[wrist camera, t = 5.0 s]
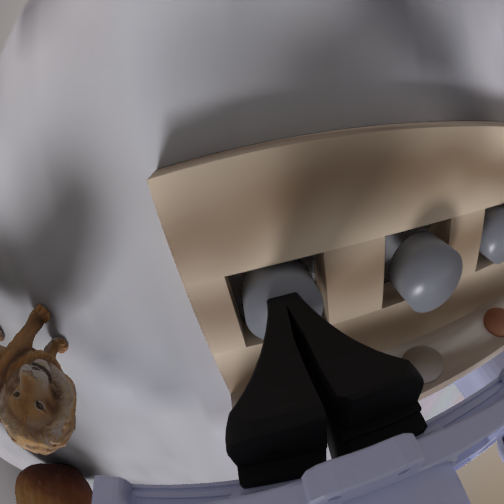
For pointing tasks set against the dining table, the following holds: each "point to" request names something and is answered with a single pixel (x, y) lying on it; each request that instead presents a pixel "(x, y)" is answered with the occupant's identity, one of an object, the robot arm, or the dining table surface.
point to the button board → (343, 236)
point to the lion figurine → (36, 390)
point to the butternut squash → (52, 485)
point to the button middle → (425, 271)
